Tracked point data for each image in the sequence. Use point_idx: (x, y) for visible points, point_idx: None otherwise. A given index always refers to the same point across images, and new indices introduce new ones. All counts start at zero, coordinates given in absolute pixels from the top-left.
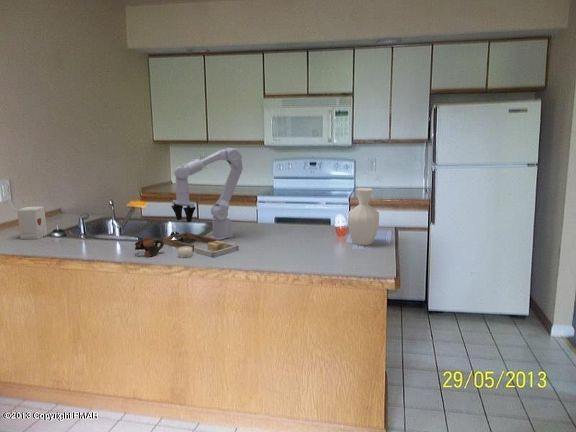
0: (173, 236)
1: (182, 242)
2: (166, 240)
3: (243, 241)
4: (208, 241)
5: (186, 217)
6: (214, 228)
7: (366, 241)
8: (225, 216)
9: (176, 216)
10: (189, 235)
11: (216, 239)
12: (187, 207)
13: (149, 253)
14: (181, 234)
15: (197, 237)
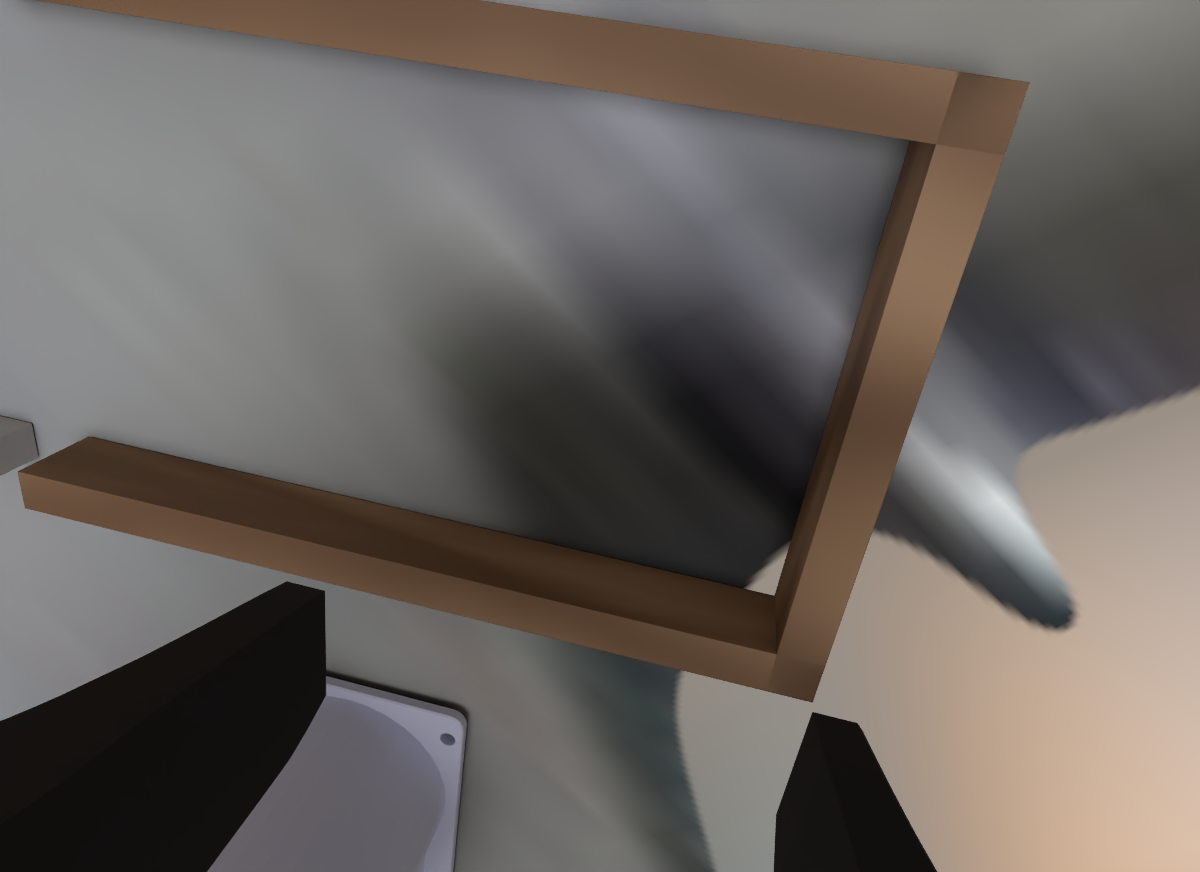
0: (864, 373)
1: (268, 34)
2: (812, 54)
3: (16, 701)
4: (205, 483)
5: (183, 668)
6: (262, 817)
7: None
8: None
9: (875, 816)
10: (683, 612)
11: (27, 502)
12: None
13: None
14: (806, 557)
15: (462, 559)
